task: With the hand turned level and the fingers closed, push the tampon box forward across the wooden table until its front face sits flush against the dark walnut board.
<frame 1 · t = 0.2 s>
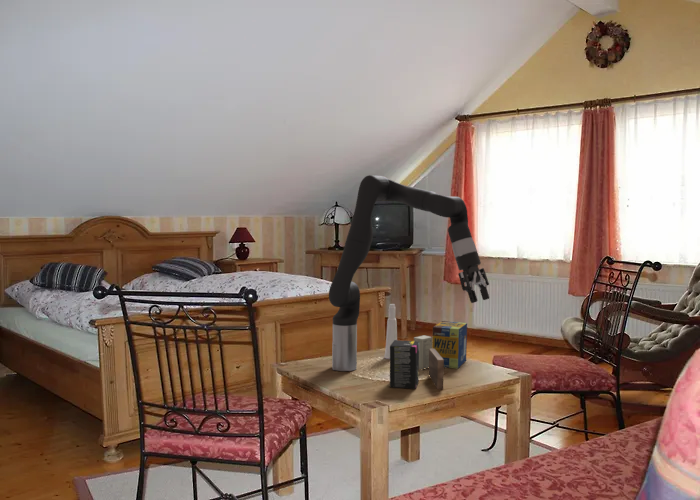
hand: (480, 300, 221), 31 cm above the table, tool tilted 20°, fingers open, 8 cm apart
cosmetic bottle: (391, 358, 276), on the table
protein box: (449, 363, 267), on the table
tampon box: (404, 385, 235), on the table
skincare box: (422, 368, 259), on the table
walnut board: (435, 381, 239), on the table
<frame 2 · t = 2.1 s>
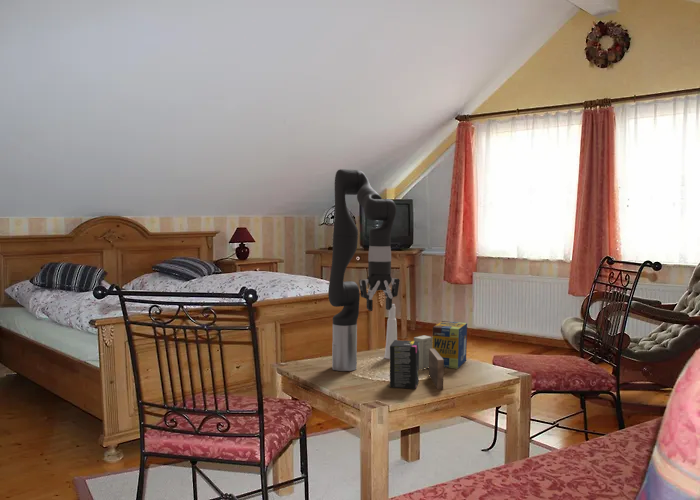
hand: (379, 310, 224), 28 cm above the table, tool pointing down, fingers open, 6 cm apart
nothing on the table moved.
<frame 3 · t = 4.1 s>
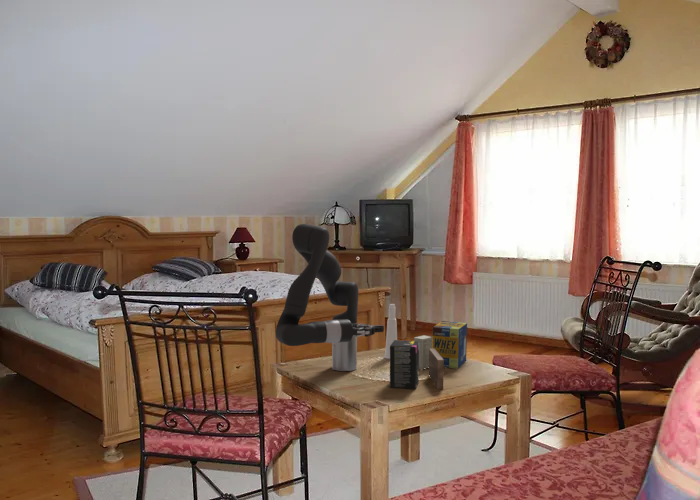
hand: (382, 328, 231), 20 cm above the table, tool horizontal, fingers closed
nothing on the table moved.
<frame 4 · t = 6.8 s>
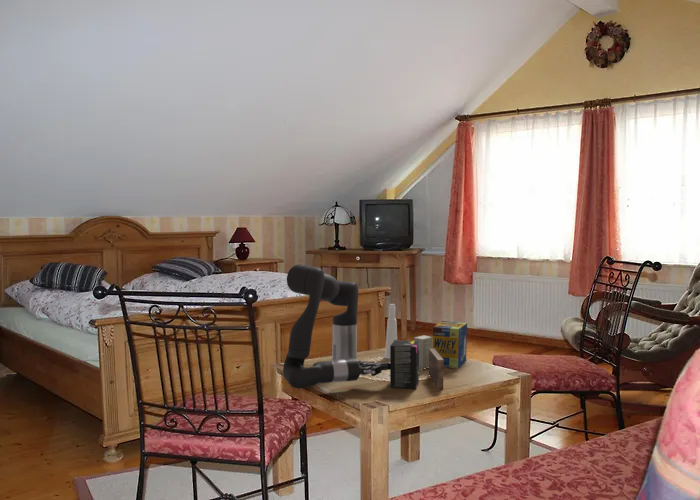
hand: (389, 365, 233), 7 cm above the table, tool horizontal, fingers closed
tampon box: (404, 384, 235), on the table, touching gripper
everything else where it was.
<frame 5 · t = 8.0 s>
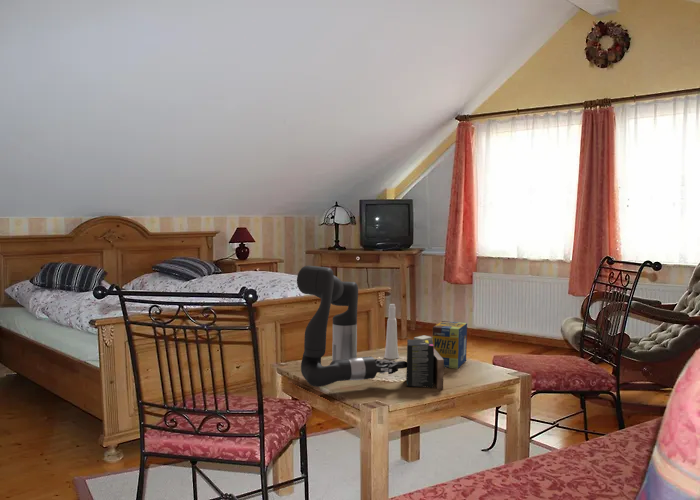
hand: (405, 364, 235), 7 cm above the table, tool horizontal, fingers closed
tampon box: (419, 383, 237), on the table, touching gripper, walnut board
everything else where it was.
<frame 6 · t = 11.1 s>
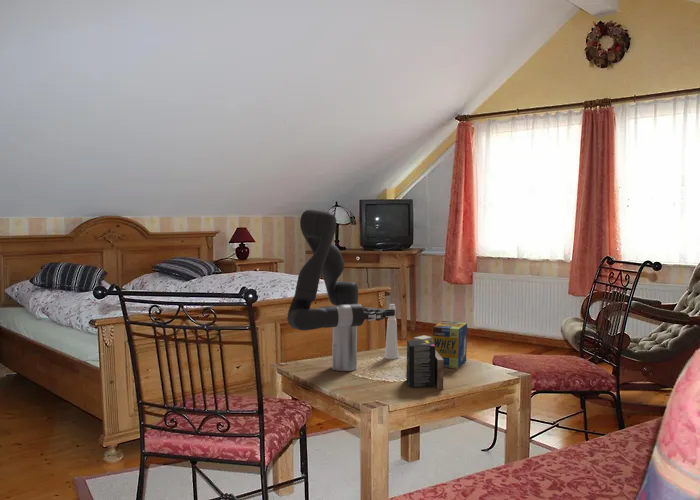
hand: (393, 312, 232), 26 cm above the table, tool horizontal, fingers closed
tampon box: (420, 384, 237), on the table
everything else where it was.
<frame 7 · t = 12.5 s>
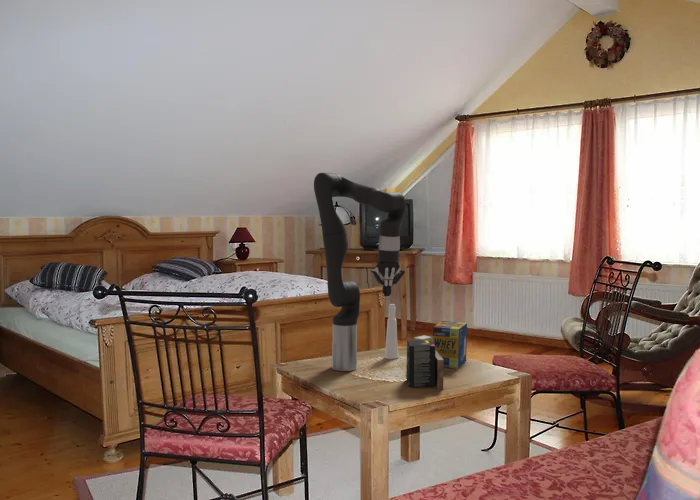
hand: (386, 295, 244), 30 cm above the table, tool pointing down, fingers closed
nothing on the table moved.
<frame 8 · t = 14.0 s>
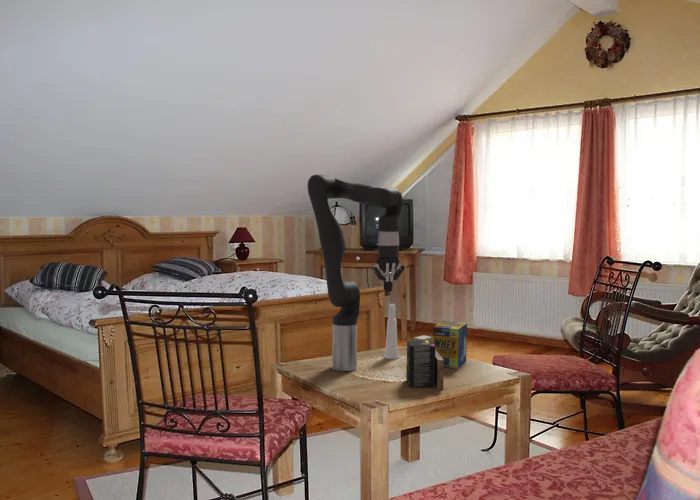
hand: (387, 291, 244), 31 cm above the table, tool pointing down, fingers closed
nothing on the table moved.
at the end: tampon box 2.0 cm from the target spot on the table beside the walnut board, on the table; tampon box tilted 0°; tampon box moved 5.8 cm from its start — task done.
